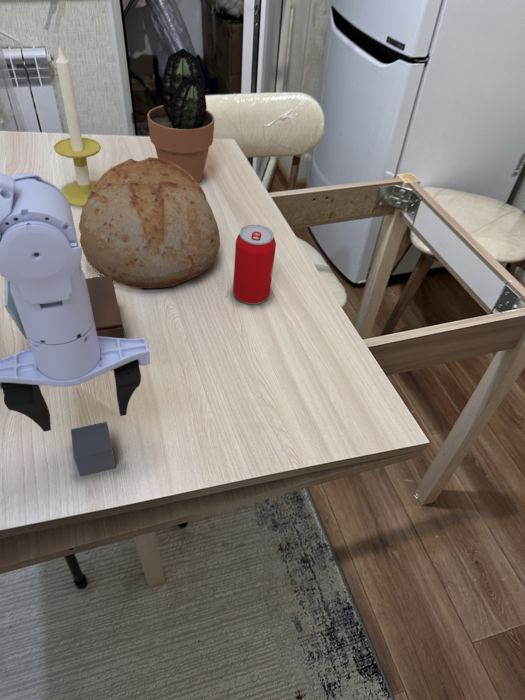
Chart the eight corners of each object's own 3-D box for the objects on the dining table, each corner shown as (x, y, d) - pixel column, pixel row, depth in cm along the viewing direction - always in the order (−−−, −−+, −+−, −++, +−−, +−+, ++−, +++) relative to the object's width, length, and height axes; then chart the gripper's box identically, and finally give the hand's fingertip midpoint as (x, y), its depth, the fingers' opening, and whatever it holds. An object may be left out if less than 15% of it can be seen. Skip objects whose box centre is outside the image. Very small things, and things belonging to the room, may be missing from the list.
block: (80, 476, 56) (73, 458, 53) (76, 448, 58) (70, 429, 56) (115, 468, 57) (111, 449, 54) (111, 440, 60) (106, 421, 57)
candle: (85, 212, 95) (57, 57, 76) (49, 195, 98) (13, 42, 79) (121, 193, 101) (103, 46, 82) (86, 177, 104) (61, 32, 85)
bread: (84, 213, 94) (70, 136, 84) (203, 208, 100) (204, 135, 89) (84, 300, 77) (66, 216, 66) (228, 288, 83) (233, 209, 72)
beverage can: (270, 286, 84) (279, 225, 76) (267, 309, 80) (275, 247, 71) (235, 281, 84) (239, 220, 76) (229, 304, 80) (233, 241, 71)
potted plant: (138, 178, 106) (126, 49, 89) (176, 157, 115) (172, 36, 97) (189, 198, 102) (188, 67, 85) (224, 175, 111) (229, 52, 93)
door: (28, 338, 61) (25, 339, 61) (26, 286, 68) (23, 287, 68) (7, 305, 57) (4, 306, 57) (7, 253, 64) (4, 254, 64)
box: (39, 373, 66) (27, 338, 61) (36, 321, 73) (25, 285, 68) (127, 357, 69) (122, 323, 65) (117, 309, 76) (111, 274, 72)
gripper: (137, 283, 47) (147, 375, 56) (-31, 304, 43) (11, 400, 52) (149, 332, 42) (158, 424, 52) (-37, 361, 38) (10, 455, 48)
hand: (85, 415), depth 52 cm, fingers open, 7 cm apart
